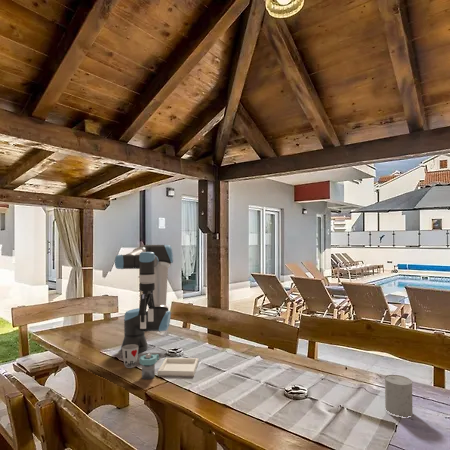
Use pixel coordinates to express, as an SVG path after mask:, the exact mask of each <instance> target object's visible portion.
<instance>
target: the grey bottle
mask: <svg viewBox="0 0 450 450" xmlns="http://www.w3.org/2000/svg"><path fill="white" fill-rule="evenodd" d="M151 354H152V353H151V352H147V353H145V355H146V359H150V358H151ZM155 364H156V363H155ZM155 364H152V365H142V364H141V379H142V380H147V381H148V380H153V379H154V378H155V377H156V376H155V375H156V374H155V373H156V369H155V368H156V367H155V366H156V365H155Z"/></svg>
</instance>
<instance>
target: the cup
mask: <svg viewBox="0 0 450 450" xmlns="http://www.w3.org/2000/svg"><path fill="white" fill-rule="evenodd" d="M121 353H122V360H123V363H124V367H125V368H127V369H133V368H135V367H136V366H137V362H138V356H139V353H138V345H135V344H130V345H125V346H123V347H122V351H121Z"/></svg>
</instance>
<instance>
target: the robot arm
mask: <svg viewBox="0 0 450 450" xmlns="http://www.w3.org/2000/svg"><path fill="white" fill-rule="evenodd" d="M173 263H174V253H173V248H172V245H170V244H145V245H142V246H138V247H135V248H134V249H133V250H132V251H131V252H129V253H126V254H117V255H116V256H115V258H114V267H115V269H118V270H135V269H136V270H139V276H138V278H139V285H138V286H139V291H140V292H142V294H140V302H139V307H138V308H133V309H130V310H127V311H126V312H125V313H124V317H123V318H124V319H123V321H124V322H123V323H124V326H123V328H124V329H123V331H124V332H123V333H124V335H123V336H124V337H123V340H122V343H121V347H120V350H121V352H122V347H123V346H125V345H130V344H135V345H138V354H139V353H142V352H145V351H147V350H148V342H147V338H146V336H145V333H146V332H166V331H167V330H168V329H169V327H170V324H171V318H172V317H171V315H172V312H171V310H169V307H168V306H167V295H168V294H167V293H168V276H169V268H170V267H171V265H172V264H173Z"/></svg>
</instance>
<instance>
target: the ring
mask: <svg viewBox="0 0 450 450" xmlns="http://www.w3.org/2000/svg"><path fill="white" fill-rule="evenodd" d="M159 355H160V354H158V353H157V354H156V353H155V354H153V353H151V358H150V359H146V354H144V355H140V357H139V364H140V365H141V366H142V365H152V364H156V363H157V362H158V361H159V360H160V356H159Z"/></svg>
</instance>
